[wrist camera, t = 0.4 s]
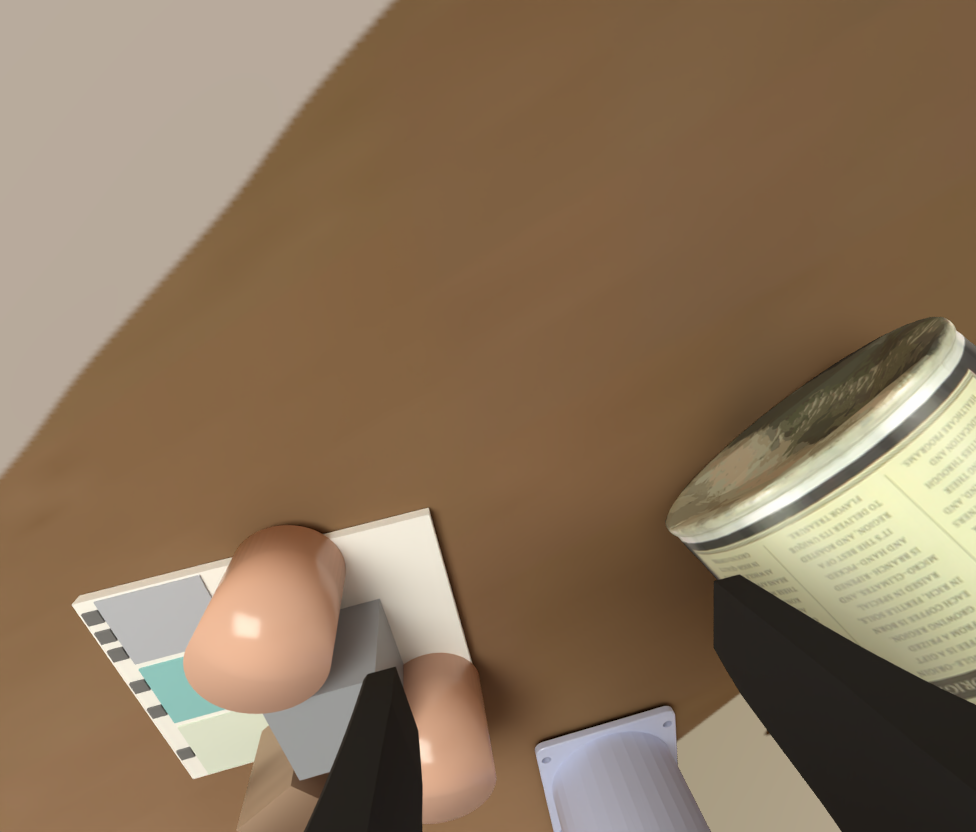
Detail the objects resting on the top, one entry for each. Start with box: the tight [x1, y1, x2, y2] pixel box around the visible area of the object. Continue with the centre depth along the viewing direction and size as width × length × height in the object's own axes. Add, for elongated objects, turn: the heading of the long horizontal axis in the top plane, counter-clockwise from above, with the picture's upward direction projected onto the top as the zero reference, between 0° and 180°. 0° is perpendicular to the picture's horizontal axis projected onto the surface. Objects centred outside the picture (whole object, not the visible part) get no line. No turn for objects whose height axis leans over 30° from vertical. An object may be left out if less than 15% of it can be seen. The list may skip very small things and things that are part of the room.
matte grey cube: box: [263, 599, 403, 780], centre depth 20 cm, size 4×4×4 cm
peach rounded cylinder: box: [403, 653, 496, 824], centre depth 21 cm, size 4×4×4 cm
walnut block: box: [236, 726, 330, 832], centre depth 21 cm, size 5×3×4 cm, turn 41°
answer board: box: [72, 508, 473, 779], centre depth 21 cm, size 11×14×1 cm
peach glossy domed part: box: [183, 525, 346, 714], centre depth 17 cm, size 4×4×4 cm
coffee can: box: [665, 317, 976, 705], centre depth 15 cm, size 10×10×14 cm
